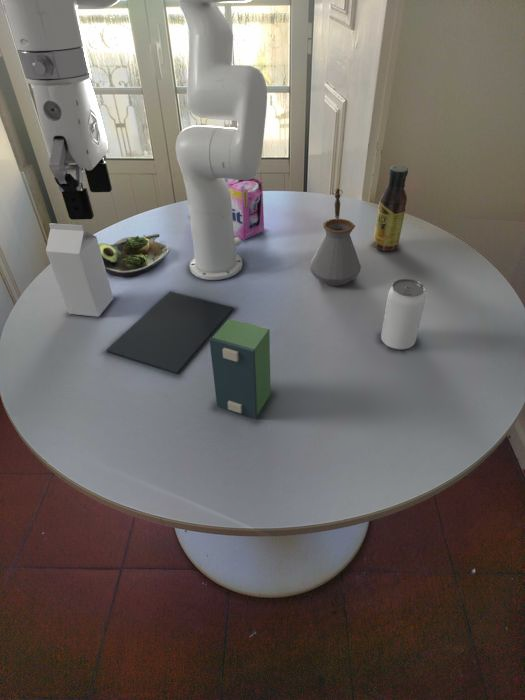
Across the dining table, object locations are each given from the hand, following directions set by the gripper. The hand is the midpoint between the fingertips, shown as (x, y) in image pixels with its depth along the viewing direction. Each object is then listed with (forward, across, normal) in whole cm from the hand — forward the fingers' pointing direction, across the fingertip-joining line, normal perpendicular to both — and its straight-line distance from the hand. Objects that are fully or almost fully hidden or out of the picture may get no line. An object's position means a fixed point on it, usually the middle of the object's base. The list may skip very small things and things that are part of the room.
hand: (92, 204), depth 67 cm
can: (+31, +6, -50) cm, 59 cm away
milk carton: (+31, +20, +13) cm, 39 cm away
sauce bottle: (+30, +43, -55) cm, 76 cm away
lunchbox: (+31, -9, -21) cm, 38 cm away
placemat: (+31, +11, -6) cm, 33 cm away
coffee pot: (+30, +34, -41) cm, 61 cm away
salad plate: (+30, +40, +10) cm, 51 cm away
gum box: (+30, +59, -14) cm, 67 cm away
